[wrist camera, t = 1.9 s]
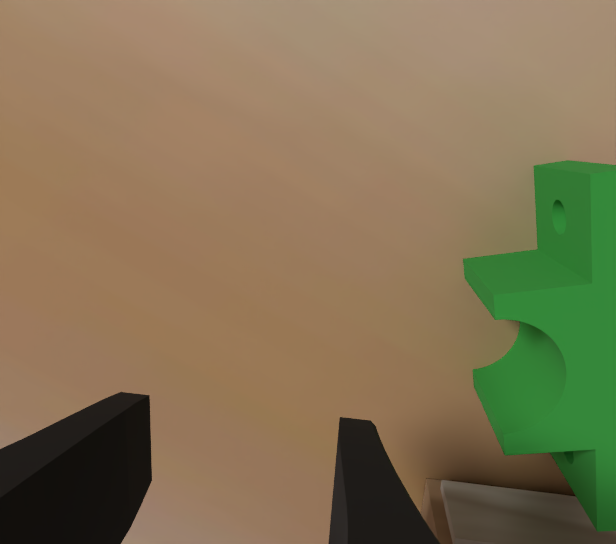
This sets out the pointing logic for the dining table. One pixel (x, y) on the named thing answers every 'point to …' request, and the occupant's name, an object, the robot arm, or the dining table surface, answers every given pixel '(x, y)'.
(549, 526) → the brown wooden block
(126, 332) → the dining table surface
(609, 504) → the pipe clamp
